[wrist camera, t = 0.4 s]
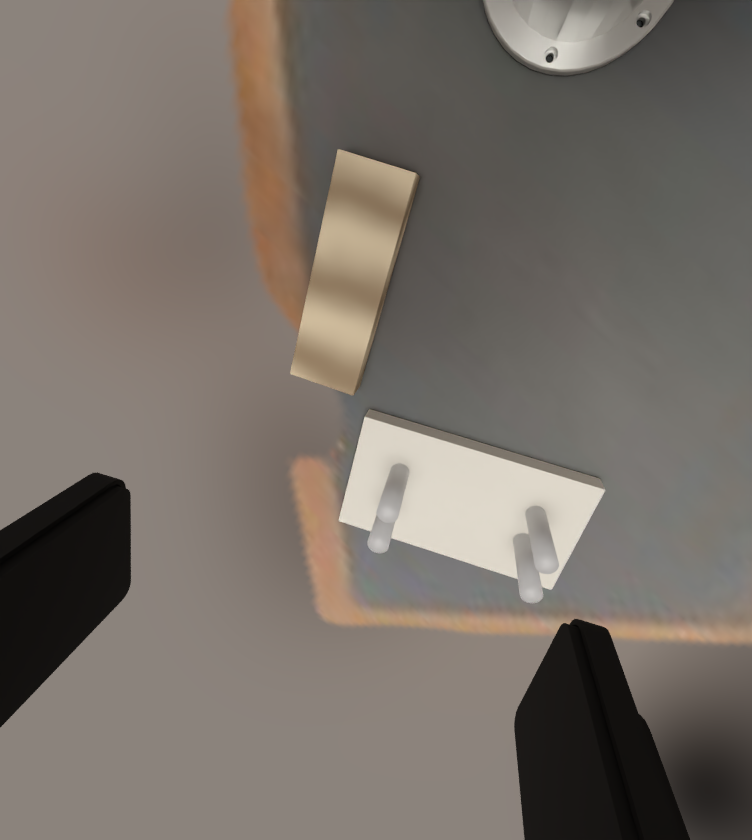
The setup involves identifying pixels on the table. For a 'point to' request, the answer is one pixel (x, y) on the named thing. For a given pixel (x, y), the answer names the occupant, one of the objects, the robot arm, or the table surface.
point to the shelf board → (352, 269)
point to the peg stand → (467, 501)
